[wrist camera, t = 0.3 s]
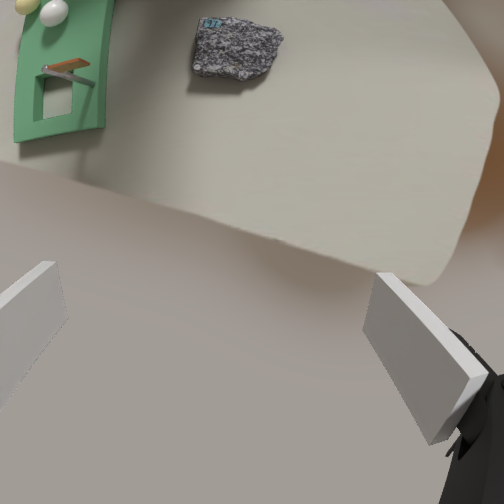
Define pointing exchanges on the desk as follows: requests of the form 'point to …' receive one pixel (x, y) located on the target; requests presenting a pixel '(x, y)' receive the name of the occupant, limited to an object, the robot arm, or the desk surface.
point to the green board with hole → (63, 49)
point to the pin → (65, 66)
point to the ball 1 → (26, 6)
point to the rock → (234, 48)
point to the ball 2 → (54, 13)
